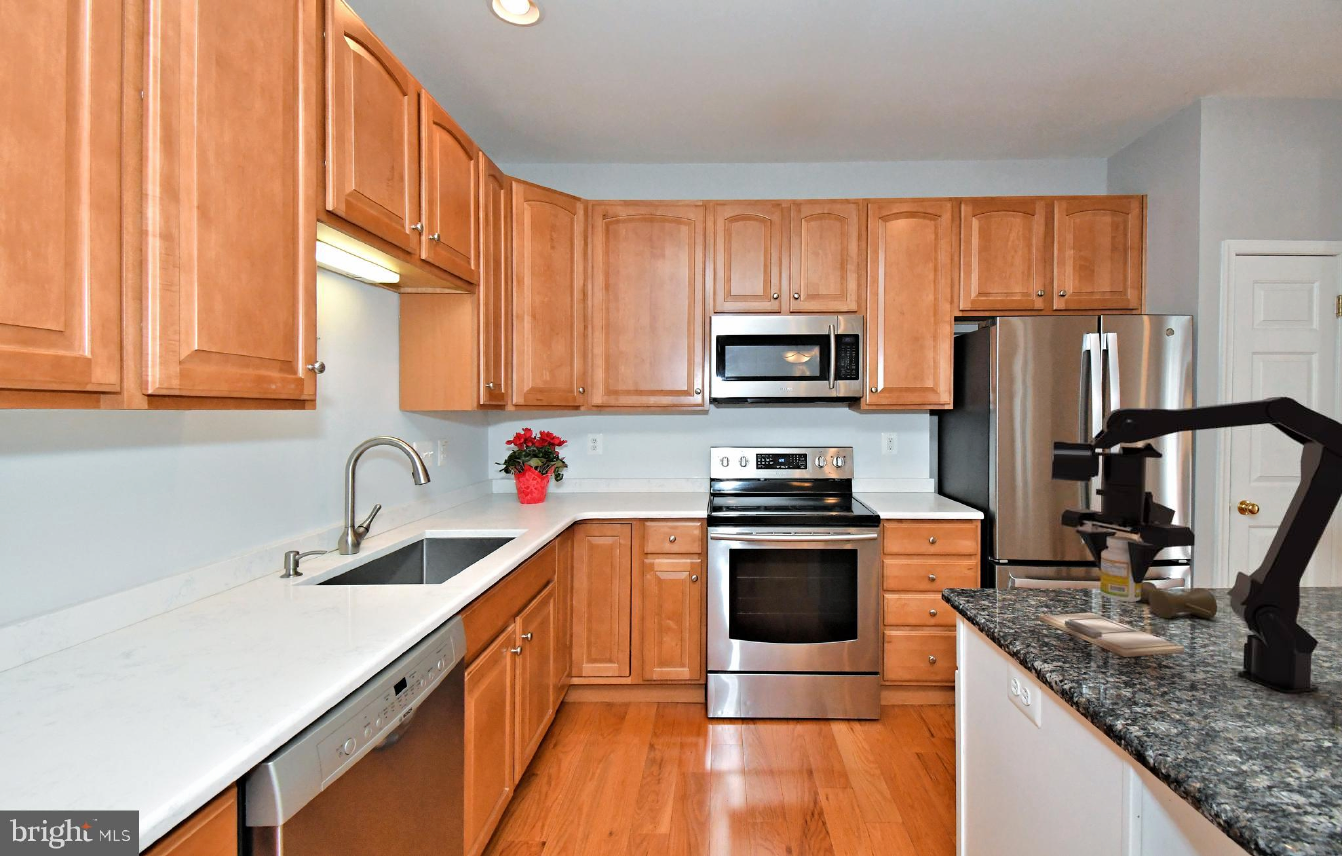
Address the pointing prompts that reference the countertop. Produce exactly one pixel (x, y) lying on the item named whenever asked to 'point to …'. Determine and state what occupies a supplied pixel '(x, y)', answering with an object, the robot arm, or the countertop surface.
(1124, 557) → the supplement bottle
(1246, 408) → the robot arm
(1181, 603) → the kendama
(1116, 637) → the beige rectangular board
